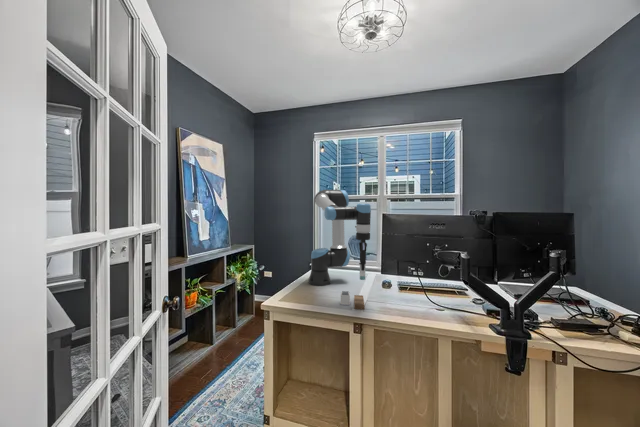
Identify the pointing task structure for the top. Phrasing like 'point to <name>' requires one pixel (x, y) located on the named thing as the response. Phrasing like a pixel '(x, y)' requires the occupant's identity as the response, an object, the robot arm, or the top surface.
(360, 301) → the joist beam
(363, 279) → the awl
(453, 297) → the top surface
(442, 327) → the top surface
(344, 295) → the pale grey block
